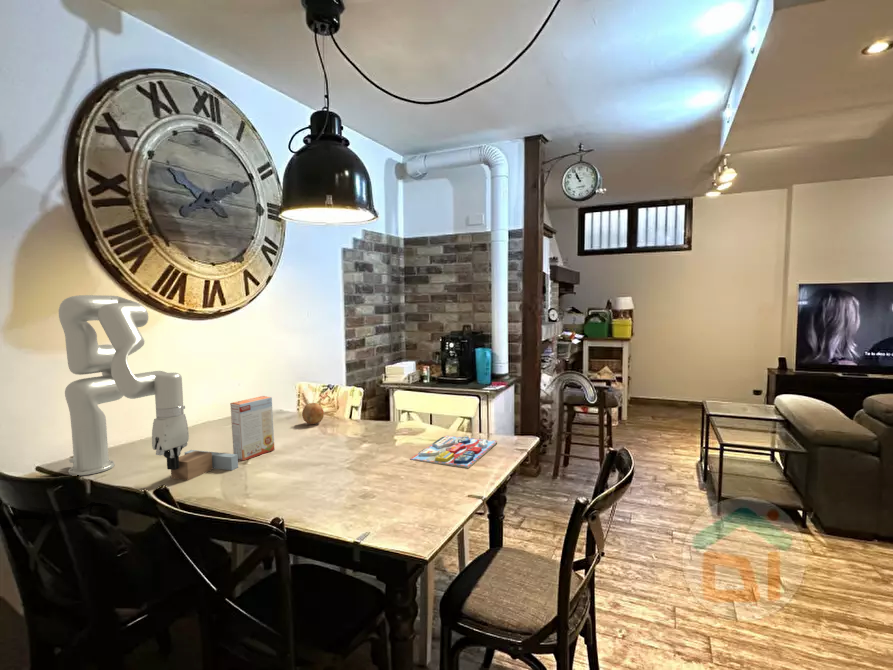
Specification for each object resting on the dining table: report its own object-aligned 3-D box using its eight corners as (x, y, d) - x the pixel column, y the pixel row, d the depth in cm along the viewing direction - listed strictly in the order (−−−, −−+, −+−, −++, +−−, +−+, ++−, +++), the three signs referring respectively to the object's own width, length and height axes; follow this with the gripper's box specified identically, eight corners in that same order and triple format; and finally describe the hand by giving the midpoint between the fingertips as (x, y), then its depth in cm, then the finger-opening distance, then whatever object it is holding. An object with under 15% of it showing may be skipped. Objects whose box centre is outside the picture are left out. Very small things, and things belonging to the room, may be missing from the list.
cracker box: (265, 448, 183) (262, 395, 181) (275, 450, 180) (273, 396, 178) (232, 458, 171) (229, 402, 169) (242, 461, 168) (240, 403, 166)
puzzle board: (445, 438, 195) (445, 432, 195) (497, 444, 185) (497, 438, 185) (409, 461, 167) (409, 454, 167) (468, 470, 157) (468, 462, 157)
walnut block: (171, 478, 152) (170, 460, 152) (196, 467, 162) (195, 450, 161) (188, 480, 150) (187, 462, 150) (212, 469, 160) (211, 452, 159)
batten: (185, 464, 165) (184, 452, 164) (192, 462, 167) (191, 449, 167) (231, 470, 159) (231, 457, 158) (238, 467, 162) (237, 454, 161)
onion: (326, 421, 223) (325, 400, 222) (321, 426, 213) (321, 404, 213) (305, 421, 223) (304, 400, 222) (300, 427, 213) (299, 405, 212)
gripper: (180, 406, 156) (183, 460, 157) (139, 417, 142) (142, 476, 143) (198, 407, 154) (201, 462, 155) (158, 418, 140) (161, 478, 141)
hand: (173, 468), depth 149 cm, fingers closed
